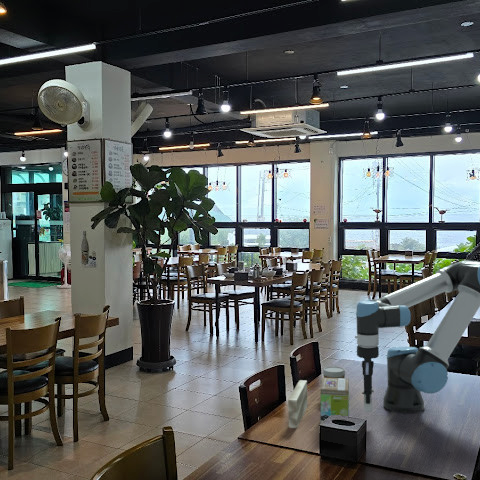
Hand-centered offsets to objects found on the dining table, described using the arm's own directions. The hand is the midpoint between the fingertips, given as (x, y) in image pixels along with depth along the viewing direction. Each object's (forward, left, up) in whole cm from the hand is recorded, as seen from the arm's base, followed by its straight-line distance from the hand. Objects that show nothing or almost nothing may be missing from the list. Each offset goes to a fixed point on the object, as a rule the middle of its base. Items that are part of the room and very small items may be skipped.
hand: (368, 411), depth 195 cm
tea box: (+12, 0, -5) cm, 13 cm away
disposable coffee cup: (+15, -28, -5) cm, 32 cm away
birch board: (+26, -5, -5) cm, 27 cm away
